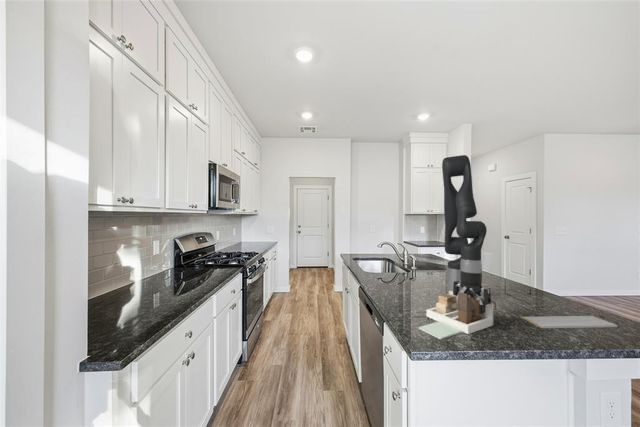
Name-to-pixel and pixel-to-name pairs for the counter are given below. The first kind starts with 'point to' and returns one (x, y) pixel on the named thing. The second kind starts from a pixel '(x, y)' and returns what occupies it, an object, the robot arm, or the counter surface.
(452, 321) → the offcut rack
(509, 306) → the counter surface
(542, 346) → the counter surface
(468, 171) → the robot arm
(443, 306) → the offcut stack
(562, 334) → the counter surface
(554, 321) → the baseboard
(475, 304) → the wooden block
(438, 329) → the sage mat
